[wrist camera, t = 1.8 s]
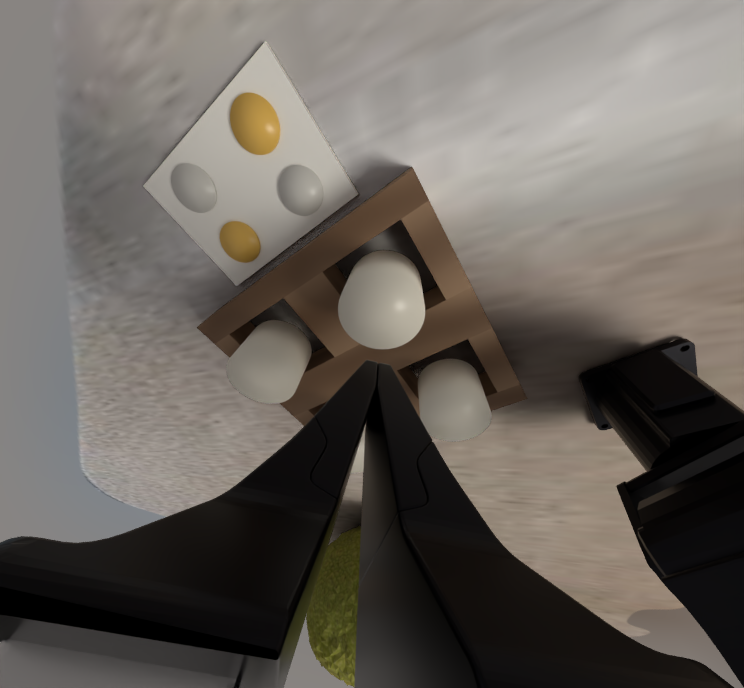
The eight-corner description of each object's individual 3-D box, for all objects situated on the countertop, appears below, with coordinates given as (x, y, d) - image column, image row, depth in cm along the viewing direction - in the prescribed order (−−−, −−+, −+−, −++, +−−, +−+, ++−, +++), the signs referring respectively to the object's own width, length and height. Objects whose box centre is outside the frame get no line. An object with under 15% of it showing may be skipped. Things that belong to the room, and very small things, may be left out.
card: (358, 193, 15) (357, 194, 15) (238, 284, 19) (235, 287, 19) (268, 43, 12) (263, 39, 12) (147, 185, 16) (140, 186, 16)
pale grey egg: (487, 391, 19) (501, 429, 16) (434, 410, 20) (439, 448, 18) (463, 349, 17) (474, 383, 15) (406, 373, 19) (407, 409, 16)
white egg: (434, 297, 16) (440, 326, 13) (374, 329, 17) (369, 361, 14) (397, 234, 14) (396, 252, 11) (334, 275, 15) (320, 300, 13)
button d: (323, 355, 19) (310, 388, 16) (281, 378, 20) (262, 412, 17) (282, 309, 17) (260, 337, 14) (239, 337, 18) (211, 368, 16)
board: (515, 376, 21) (527, 398, 19) (346, 438, 27) (342, 460, 25) (411, 167, 14) (413, 168, 12) (216, 310, 20) (196, 327, 18)
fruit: (401, 565, 43) (337, 695, 32) (344, 491, 42) (261, 599, 32) (495, 588, 31) (443, 803, 21) (418, 487, 31) (326, 654, 20)
